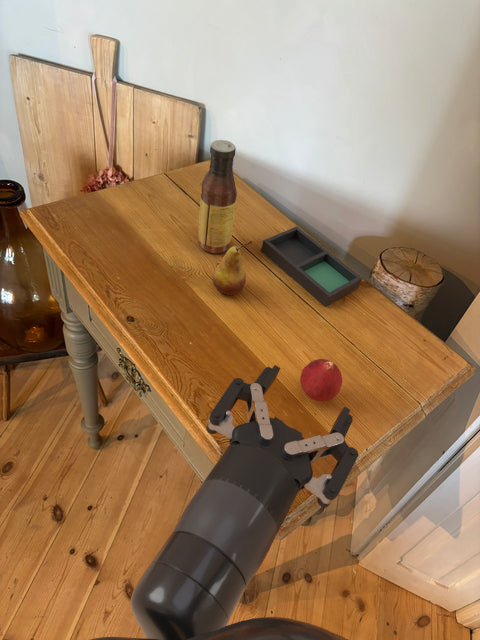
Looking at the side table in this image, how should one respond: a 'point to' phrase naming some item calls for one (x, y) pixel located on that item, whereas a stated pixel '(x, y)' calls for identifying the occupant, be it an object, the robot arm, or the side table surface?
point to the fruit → (230, 272)
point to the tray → (311, 265)
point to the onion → (321, 380)
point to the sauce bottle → (218, 199)
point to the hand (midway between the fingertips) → (309, 390)
